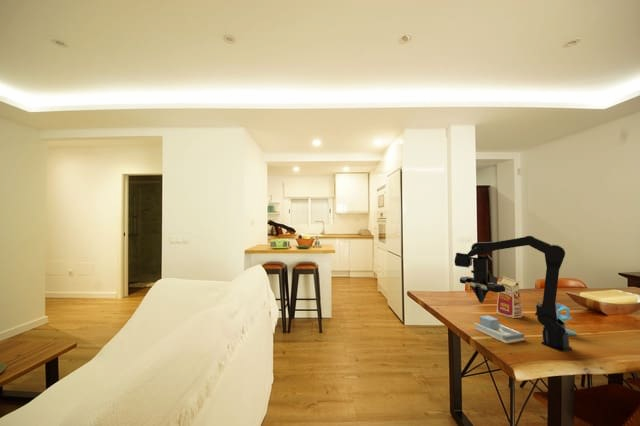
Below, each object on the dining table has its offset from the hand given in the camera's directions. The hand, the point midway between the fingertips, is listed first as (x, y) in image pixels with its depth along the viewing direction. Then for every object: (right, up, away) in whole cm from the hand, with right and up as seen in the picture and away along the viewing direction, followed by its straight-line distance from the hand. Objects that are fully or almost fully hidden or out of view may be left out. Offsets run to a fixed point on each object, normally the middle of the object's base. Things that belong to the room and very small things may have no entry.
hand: (481, 302), depth 109 cm
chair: (+31, -11, -5) cm, 33 cm away
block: (+1, -10, -4) cm, 11 cm away
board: (+2, -11, -8) cm, 14 cm away
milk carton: (+27, -13, +15) cm, 33 cm away
